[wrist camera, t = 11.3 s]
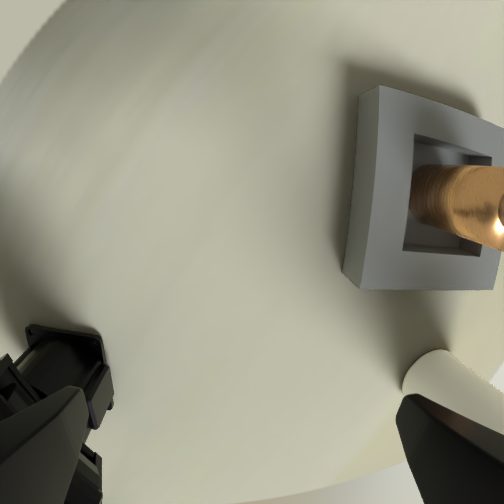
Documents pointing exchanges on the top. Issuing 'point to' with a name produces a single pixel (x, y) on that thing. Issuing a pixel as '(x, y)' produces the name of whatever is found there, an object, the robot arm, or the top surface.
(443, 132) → the gray cradle
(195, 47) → the top surface
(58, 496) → the robot arm
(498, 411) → the drinking glass
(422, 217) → the battery cell
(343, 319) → the top surface
